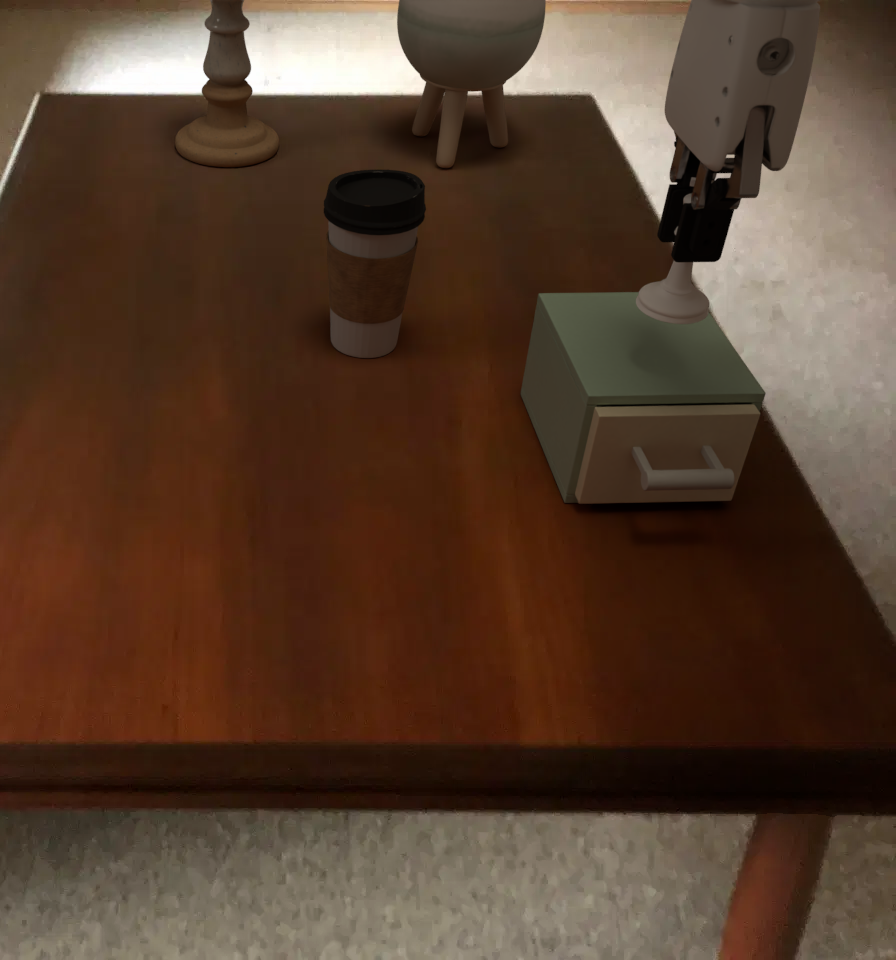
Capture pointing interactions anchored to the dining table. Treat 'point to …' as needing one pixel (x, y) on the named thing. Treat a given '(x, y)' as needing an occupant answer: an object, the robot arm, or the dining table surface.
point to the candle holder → (227, 99)
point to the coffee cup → (371, 256)
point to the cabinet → (618, 369)
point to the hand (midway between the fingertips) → (687, 248)
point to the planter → (466, 59)
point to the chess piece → (675, 293)
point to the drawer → (665, 452)
